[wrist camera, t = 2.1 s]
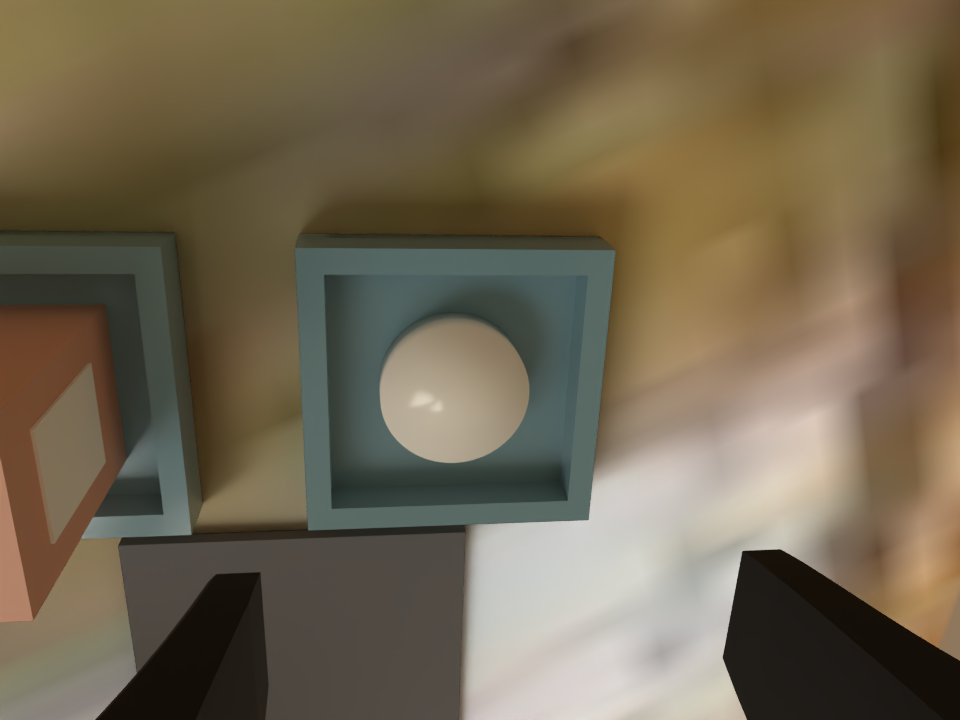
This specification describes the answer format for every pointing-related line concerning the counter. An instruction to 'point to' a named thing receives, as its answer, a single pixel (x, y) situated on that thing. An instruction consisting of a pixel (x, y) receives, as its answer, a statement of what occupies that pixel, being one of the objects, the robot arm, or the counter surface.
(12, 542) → the brown rectangular block
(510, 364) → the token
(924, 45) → the counter surface
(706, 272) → the counter surface
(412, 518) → the dish
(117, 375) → the dish
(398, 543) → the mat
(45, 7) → the counter surface
